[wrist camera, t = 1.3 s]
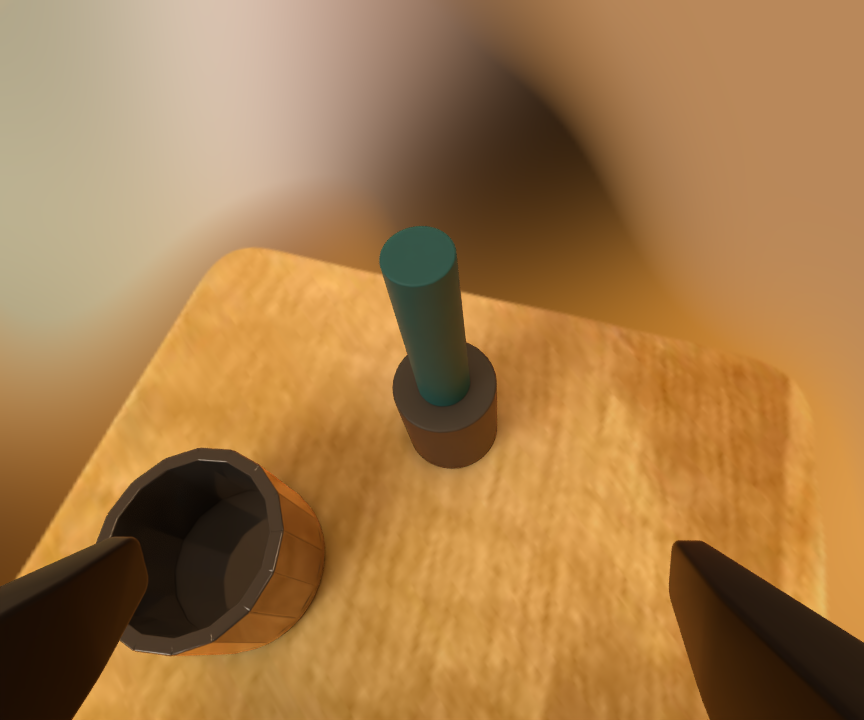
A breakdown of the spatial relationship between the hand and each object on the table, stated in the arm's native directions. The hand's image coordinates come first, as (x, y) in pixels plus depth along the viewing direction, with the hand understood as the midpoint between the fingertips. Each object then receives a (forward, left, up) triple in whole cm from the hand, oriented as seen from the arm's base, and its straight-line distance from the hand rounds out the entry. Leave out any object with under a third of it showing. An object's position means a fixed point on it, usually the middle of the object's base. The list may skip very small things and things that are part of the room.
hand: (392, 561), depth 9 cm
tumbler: (+4, +8, -13) cm, 16 cm away
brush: (+7, -2, -13) cm, 15 cm away
